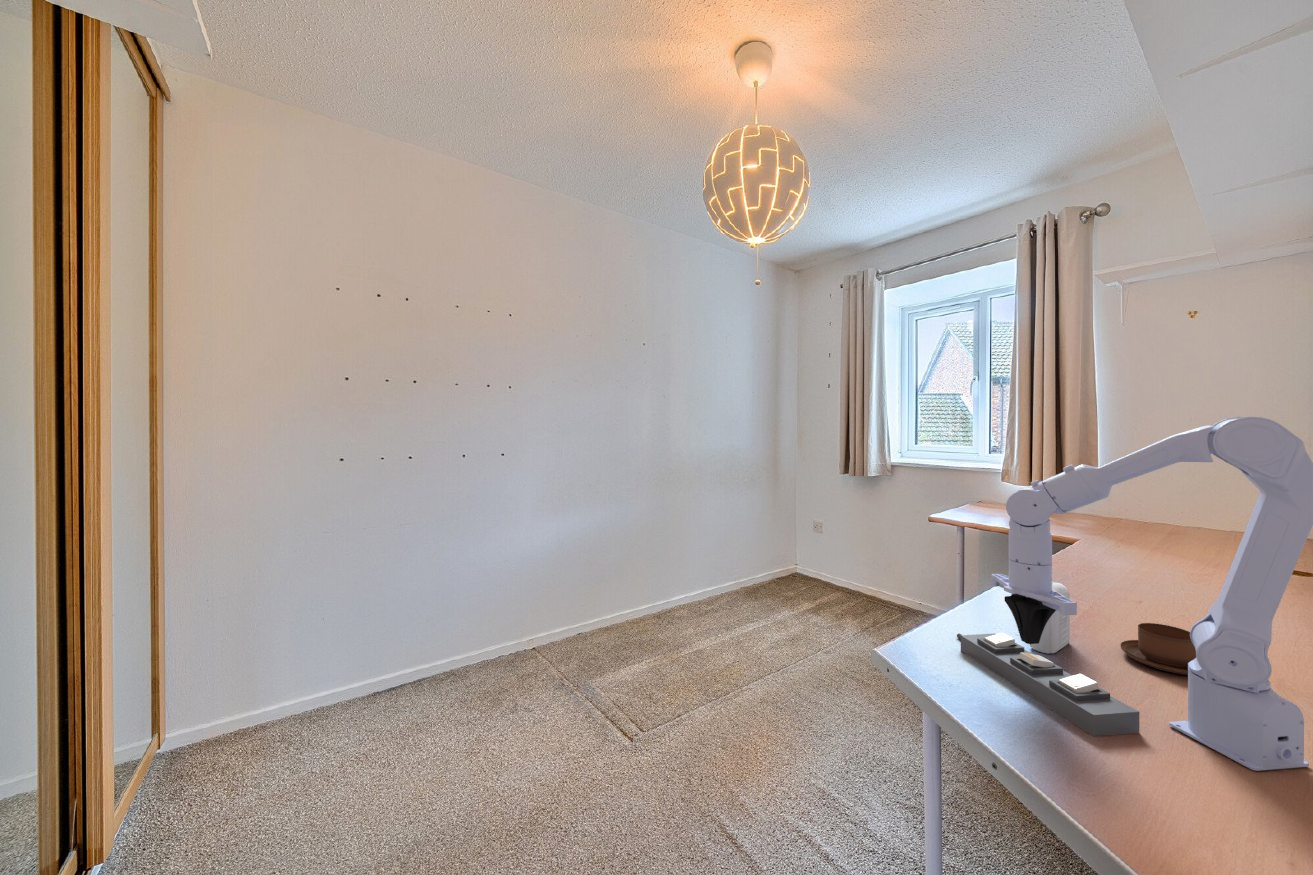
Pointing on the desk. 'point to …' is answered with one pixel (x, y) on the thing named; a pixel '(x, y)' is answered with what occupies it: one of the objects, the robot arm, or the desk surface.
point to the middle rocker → (1036, 660)
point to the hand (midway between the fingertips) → (1030, 641)
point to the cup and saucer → (1161, 647)
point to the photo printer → (1055, 628)
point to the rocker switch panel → (1054, 688)
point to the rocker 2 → (1079, 683)
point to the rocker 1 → (1000, 640)
